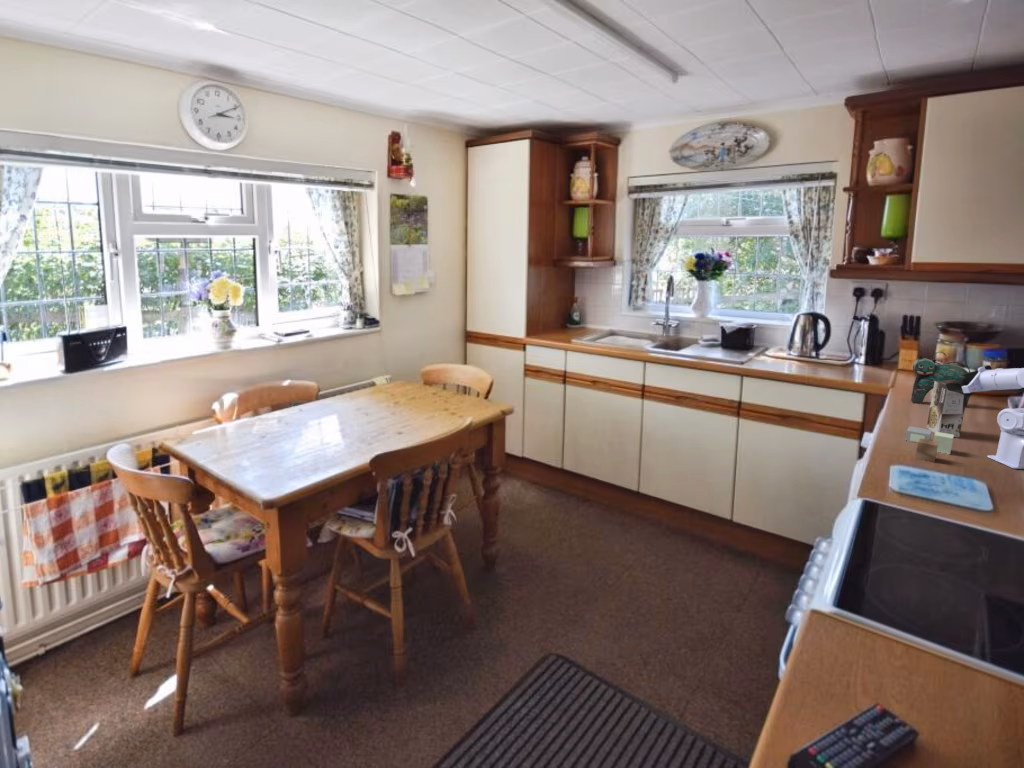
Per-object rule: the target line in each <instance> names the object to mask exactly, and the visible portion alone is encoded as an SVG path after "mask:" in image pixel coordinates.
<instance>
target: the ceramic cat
mask: <svg viewBox="0 0 1024 768" xmlns="http://www.w3.org/2000/svg"><path fill="white" fill-rule="evenodd" d="M939 353H940V354H943V355H944V356H947V354H946V353H945V352H943V351H936V352H935V353H934V355H933V359H928V358H925V357H923V356H922V355H921V356H919V357H918V358H917V359H916V360H914V362H913V363H912V364H913V365H912V370H913V372H914V373H915V374H916V377H915V379H914V382H913V387H912V391H911V397H910V401H911V403H913V404H917V403H918V404H920V405H922V404H923V401H924V400H925V397H926V395H928V393H929V392H930V391H931V390H933V388H934V382H935V381H958V380H961V379H962V378H964V374H967V373H970V372H971V370H970V367H969V366H968V365H967V364H965V363H963V362H959V361H949V362H944V363H939V362H937V359H935V356H936V355H937V354H939ZM952 363H953V364H952ZM957 364H959V365H963V366H965V367H966V369H968V371H967V370H966V369H965V368H963V367H962V366H959V365H957ZM969 383H970V382H969ZM970 398H971V396H969V397H967V401H966V406H965V408H967V406H968V404H969V403H968V402H969V400H970Z"/></svg>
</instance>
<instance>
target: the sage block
mask: <svg viewBox="0 0 1024 768" xmlns="http://www.w3.org/2000/svg"><path fill="white" fill-rule="evenodd" d="M954 438H955V437H954V435H953V434H947V433H941V432H935V433H934V435H933V440H932V441H938V448H937V453H938V452H941V453H940V454H943V453H947V454H946V455H948V454H950V455H951V451H952V447H953V441H954Z"/></svg>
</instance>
